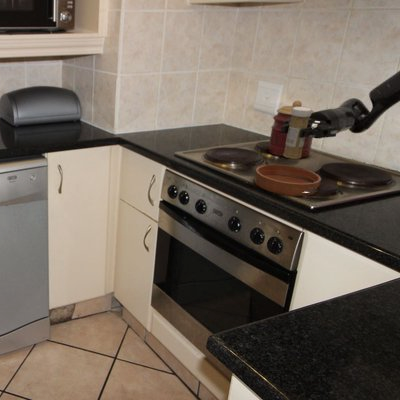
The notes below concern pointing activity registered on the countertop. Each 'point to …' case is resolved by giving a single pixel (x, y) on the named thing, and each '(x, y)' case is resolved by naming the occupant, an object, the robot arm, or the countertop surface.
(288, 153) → the sprinkles bottle
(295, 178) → the terracotta round dish
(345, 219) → the countertop surface
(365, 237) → the countertop surface
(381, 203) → the countertop surface
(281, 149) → the kitchen canister
